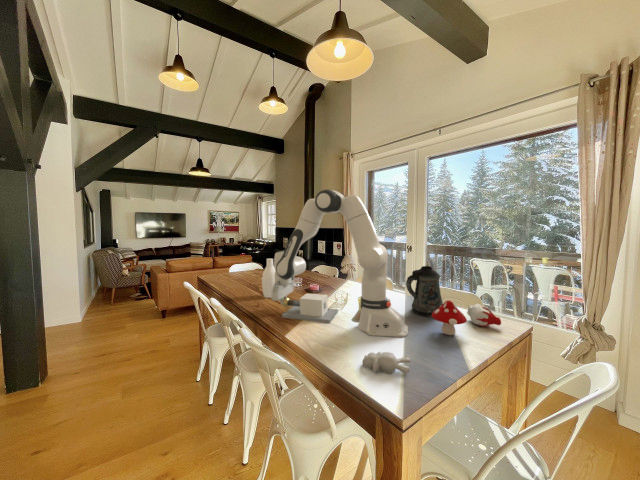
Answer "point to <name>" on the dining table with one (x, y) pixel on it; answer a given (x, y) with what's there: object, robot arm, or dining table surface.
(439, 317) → the decorative mushroom
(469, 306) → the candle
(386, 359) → the bunny figurine
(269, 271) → the bottle
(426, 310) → the beer stein
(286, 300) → the shaft
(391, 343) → the dining table surface
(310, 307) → the bearing block
